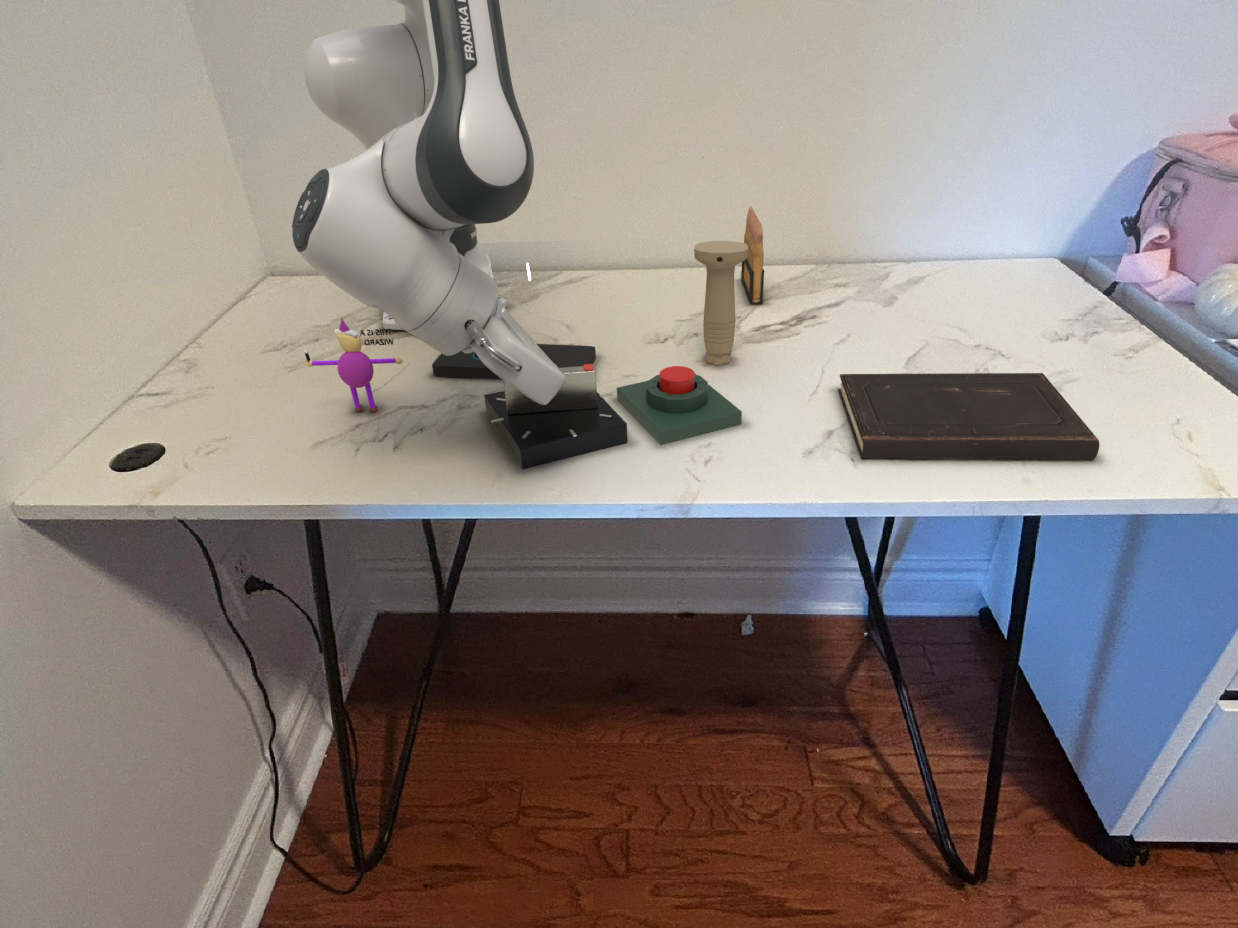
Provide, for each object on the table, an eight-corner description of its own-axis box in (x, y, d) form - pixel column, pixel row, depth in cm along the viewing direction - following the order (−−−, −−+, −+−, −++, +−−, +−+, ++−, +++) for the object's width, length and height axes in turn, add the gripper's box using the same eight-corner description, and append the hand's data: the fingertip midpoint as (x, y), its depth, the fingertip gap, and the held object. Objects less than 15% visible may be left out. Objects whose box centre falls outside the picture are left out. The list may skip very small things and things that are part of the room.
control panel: (477, 415, 97) (474, 395, 95) (589, 390, 101) (588, 370, 100) (512, 473, 85) (510, 451, 84) (637, 441, 90) (636, 420, 89)
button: (653, 384, 95) (653, 370, 94) (684, 377, 96) (684, 363, 95) (669, 398, 92) (668, 383, 91) (700, 391, 93) (701, 376, 92)
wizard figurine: (414, 405, 100) (396, 311, 93) (408, 418, 97) (389, 321, 90) (323, 407, 100) (298, 314, 94) (314, 420, 97) (288, 324, 91)
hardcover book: (838, 391, 98) (839, 373, 97) (1038, 390, 96) (1043, 372, 95) (861, 461, 85) (863, 441, 84) (1095, 462, 83) (1101, 442, 82)
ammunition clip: (762, 304, 123) (767, 223, 117) (750, 304, 124) (754, 224, 117) (752, 280, 133) (756, 204, 126) (740, 280, 133) (743, 205, 126)
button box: (617, 400, 99) (615, 373, 97) (691, 383, 102) (691, 356, 100) (660, 445, 89) (660, 417, 87) (741, 424, 92) (742, 396, 90)
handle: (742, 370, 104) (747, 253, 96) (691, 368, 105) (692, 252, 97) (744, 354, 108) (748, 241, 100) (695, 352, 109) (696, 240, 102)
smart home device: (452, 339, 112) (596, 344, 109) (454, 350, 113) (596, 356, 110) (429, 364, 105) (582, 371, 102) (431, 377, 106) (583, 384, 103)
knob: (507, 414, 91) (502, 375, 89) (507, 408, 92) (503, 369, 90) (597, 407, 92) (595, 369, 89) (596, 401, 93) (594, 362, 90)
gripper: (506, 317, 70) (616, 395, 79) (449, 252, 86) (545, 323, 95) (462, 375, 71) (575, 446, 79) (414, 300, 87) (512, 366, 96)
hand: (558, 378), depth 87 cm, fingers closed
